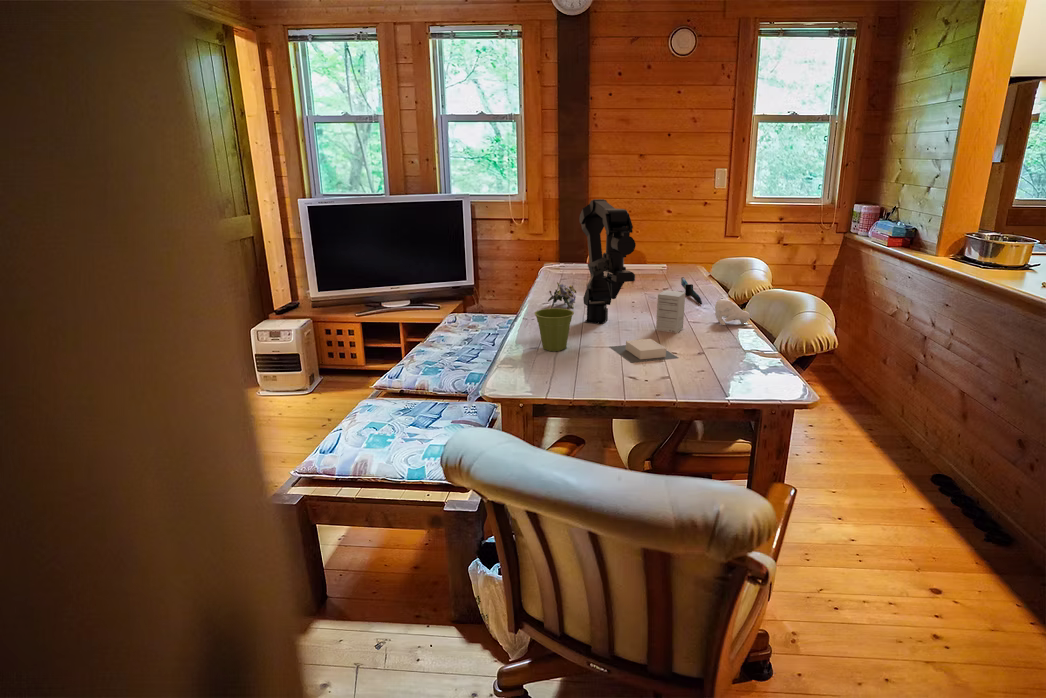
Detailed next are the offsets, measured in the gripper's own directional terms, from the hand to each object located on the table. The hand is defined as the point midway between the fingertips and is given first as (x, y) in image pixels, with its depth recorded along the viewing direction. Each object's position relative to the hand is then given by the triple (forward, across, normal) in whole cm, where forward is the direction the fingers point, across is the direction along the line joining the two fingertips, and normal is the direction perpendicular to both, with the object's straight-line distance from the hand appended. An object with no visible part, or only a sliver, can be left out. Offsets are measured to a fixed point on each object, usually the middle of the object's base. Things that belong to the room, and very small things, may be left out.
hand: (613, 298), depth 197 cm
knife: (+12, -41, +52) cm, 68 cm away
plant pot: (+12, +8, -23) cm, 27 cm away
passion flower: (+12, -41, -4) cm, 43 cm away
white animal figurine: (+12, 0, +45) cm, 46 cm away
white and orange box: (+10, +17, +1) cm, 20 cm away
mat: (+12, +21, +1) cm, 24 cm away
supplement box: (+12, 0, +21) cm, 24 cm away
